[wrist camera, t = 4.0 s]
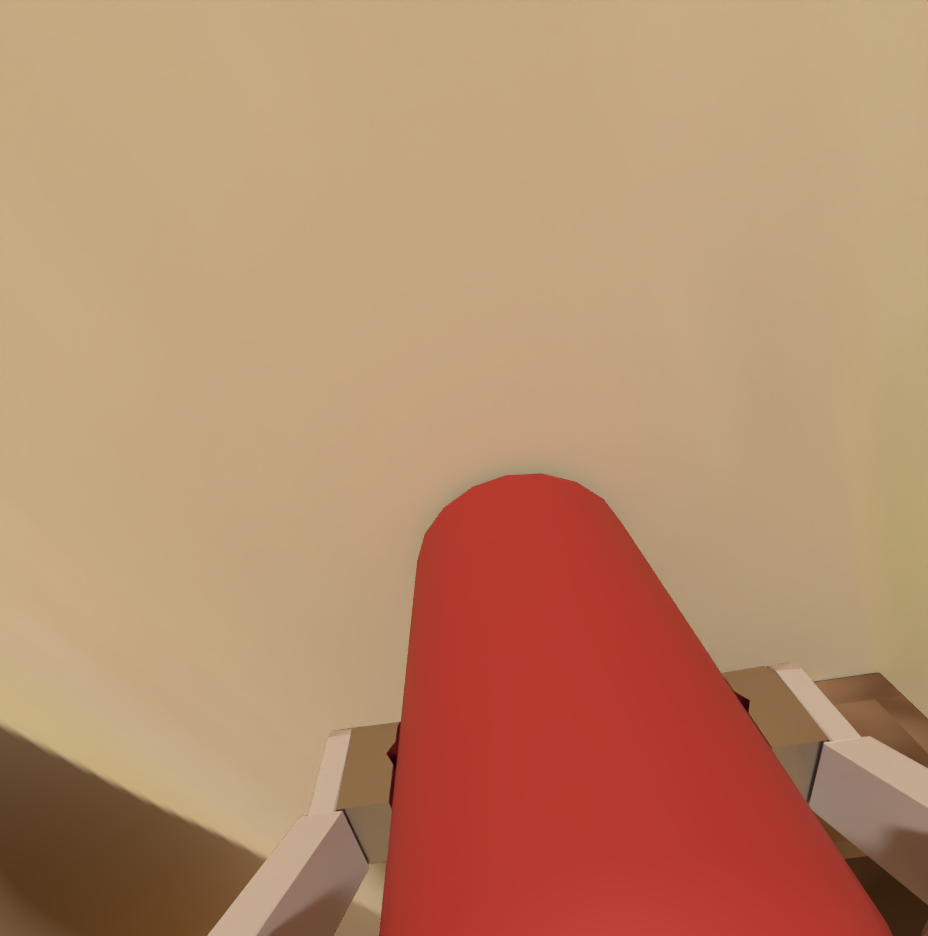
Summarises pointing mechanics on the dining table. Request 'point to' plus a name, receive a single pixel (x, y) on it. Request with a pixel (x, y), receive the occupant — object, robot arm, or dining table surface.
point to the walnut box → (911, 734)
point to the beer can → (585, 749)
